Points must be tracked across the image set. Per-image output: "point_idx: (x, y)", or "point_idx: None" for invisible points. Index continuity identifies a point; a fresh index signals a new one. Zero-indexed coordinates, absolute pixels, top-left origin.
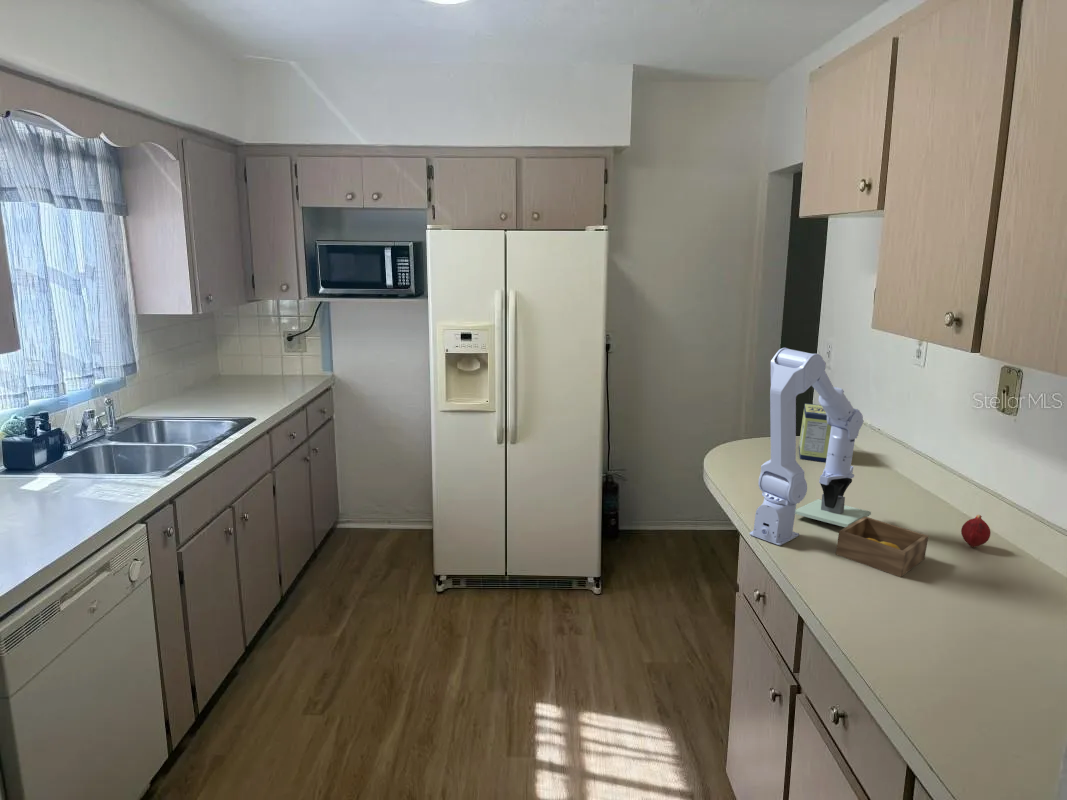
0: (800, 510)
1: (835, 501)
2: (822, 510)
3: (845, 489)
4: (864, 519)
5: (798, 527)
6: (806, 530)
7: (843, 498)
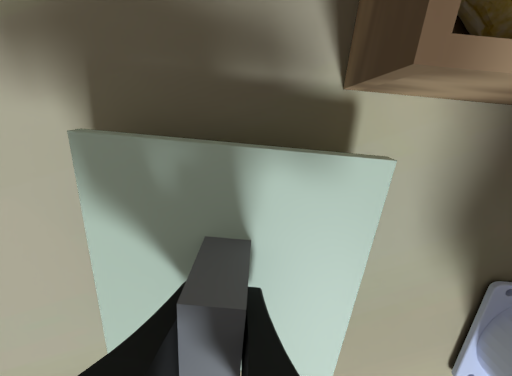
0: (313, 363)
1: (267, 316)
2: None
3: (118, 366)
4: (501, 40)
5: (396, 307)
6: (407, 279)
7: (205, 302)
